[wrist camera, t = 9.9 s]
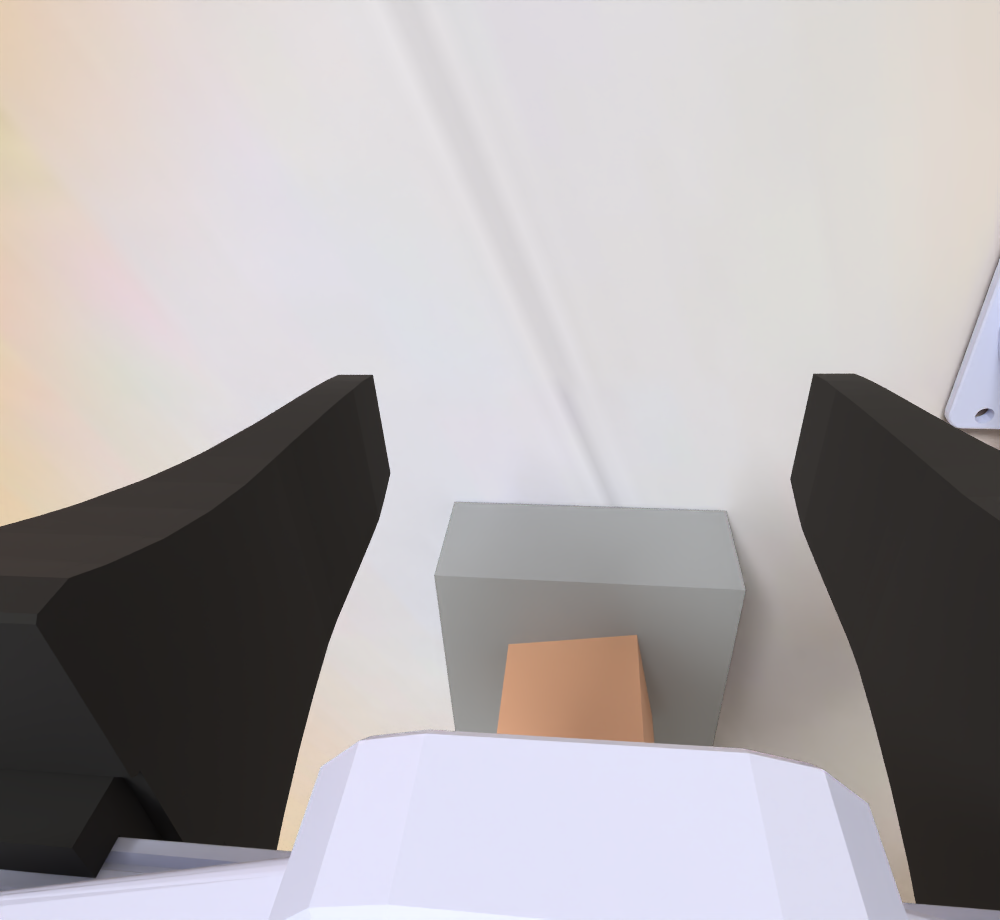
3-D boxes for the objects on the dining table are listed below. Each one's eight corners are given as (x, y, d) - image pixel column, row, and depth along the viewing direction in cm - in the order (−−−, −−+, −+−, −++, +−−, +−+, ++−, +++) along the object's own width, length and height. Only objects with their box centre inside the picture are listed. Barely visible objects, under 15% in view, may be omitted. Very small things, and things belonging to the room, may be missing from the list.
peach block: (636, 634, 23) (644, 755, 20) (652, 717, 26) (662, 838, 22) (508, 644, 24) (493, 760, 21) (534, 722, 27) (525, 840, 23)
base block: (726, 511, 25) (745, 590, 22) (695, 688, 31) (707, 772, 27) (454, 501, 26) (434, 575, 23) (472, 674, 32) (458, 753, 29)
